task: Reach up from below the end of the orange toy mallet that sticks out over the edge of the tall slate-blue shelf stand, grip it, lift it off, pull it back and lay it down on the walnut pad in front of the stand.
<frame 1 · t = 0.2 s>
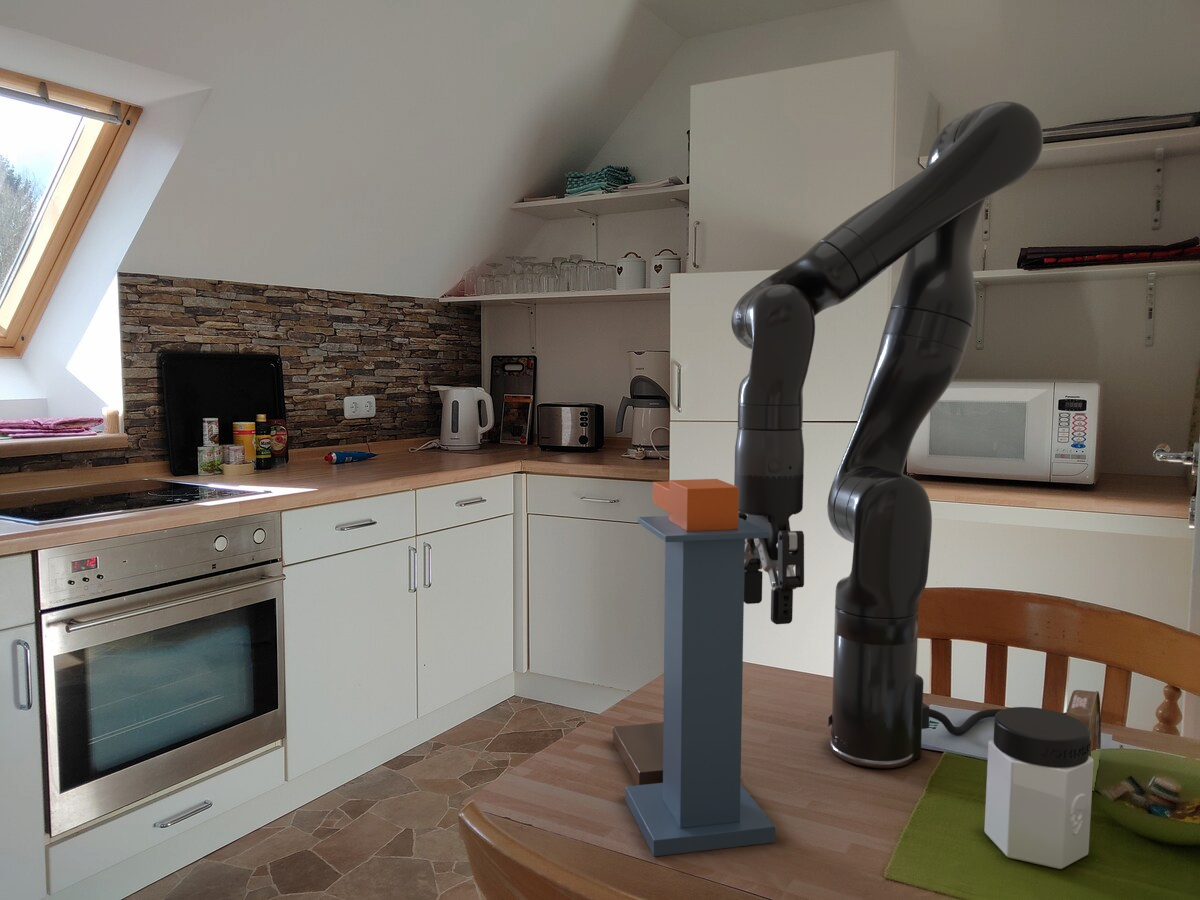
hand: (765, 612, 103), 17 cm above the table, tool pointing down, fingers open, 8 cm apart
orange toy mallet: (700, 523, 89), point 30 cm above the table, touching stand
jar: (1035, 846, 88), on the table
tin: (1081, 775, 102), on the table
stand: (697, 820, 92), on the table
pad: (663, 761, 105), on the table
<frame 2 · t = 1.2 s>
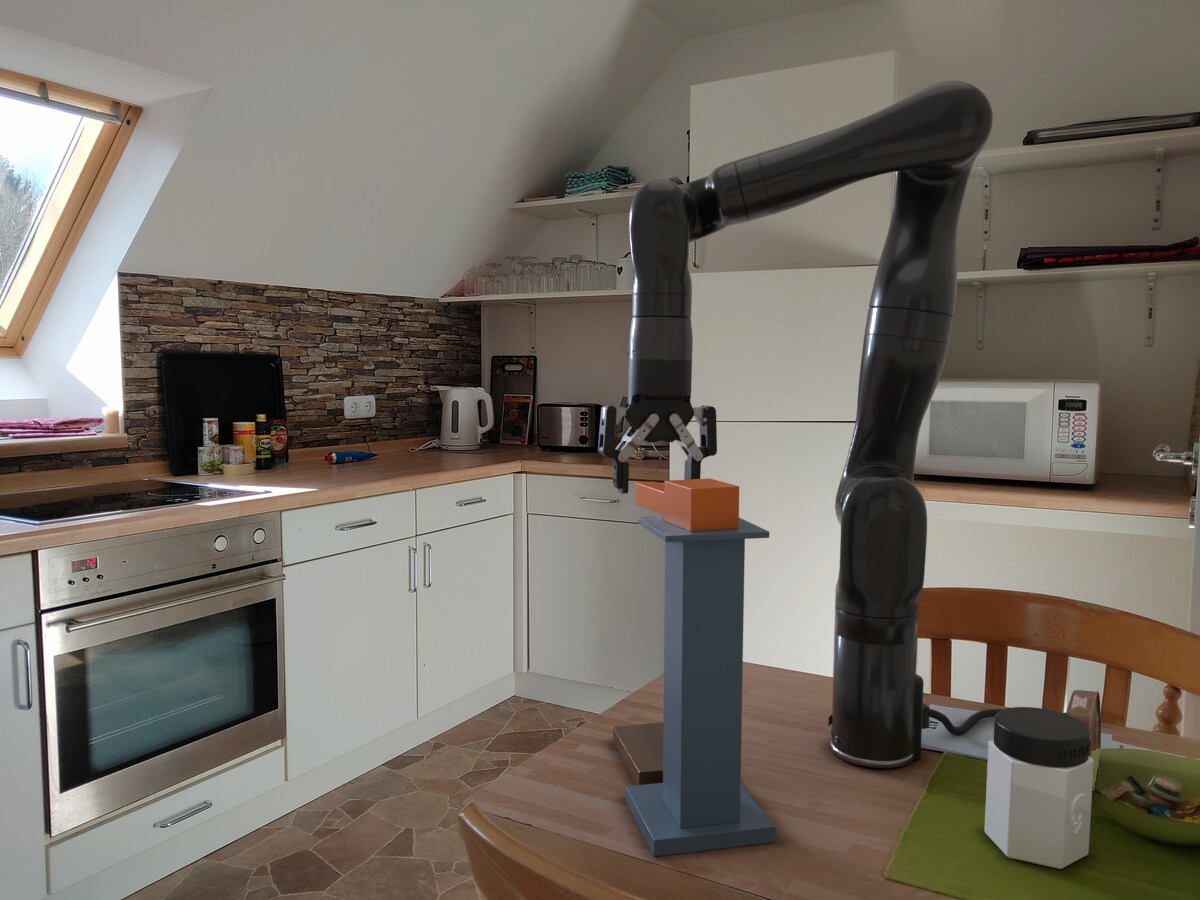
hand: (656, 492, 111), 30 cm above the table, tool pointing down, fingers open, 8 cm apart
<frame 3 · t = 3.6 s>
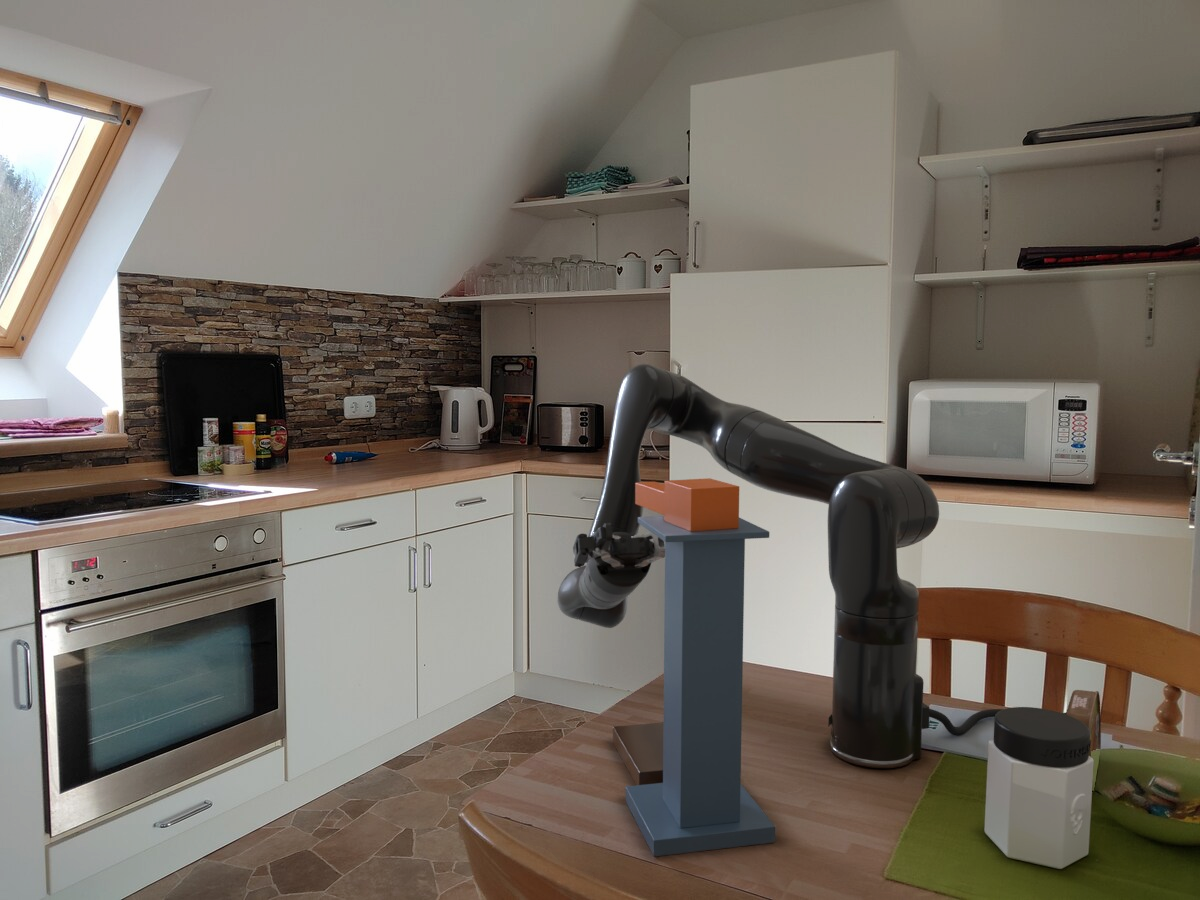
hand: (644, 529, 109), 26 cm above the table, tool pointing upward, fingers open, 8 cm apart
nothing on the table moved.
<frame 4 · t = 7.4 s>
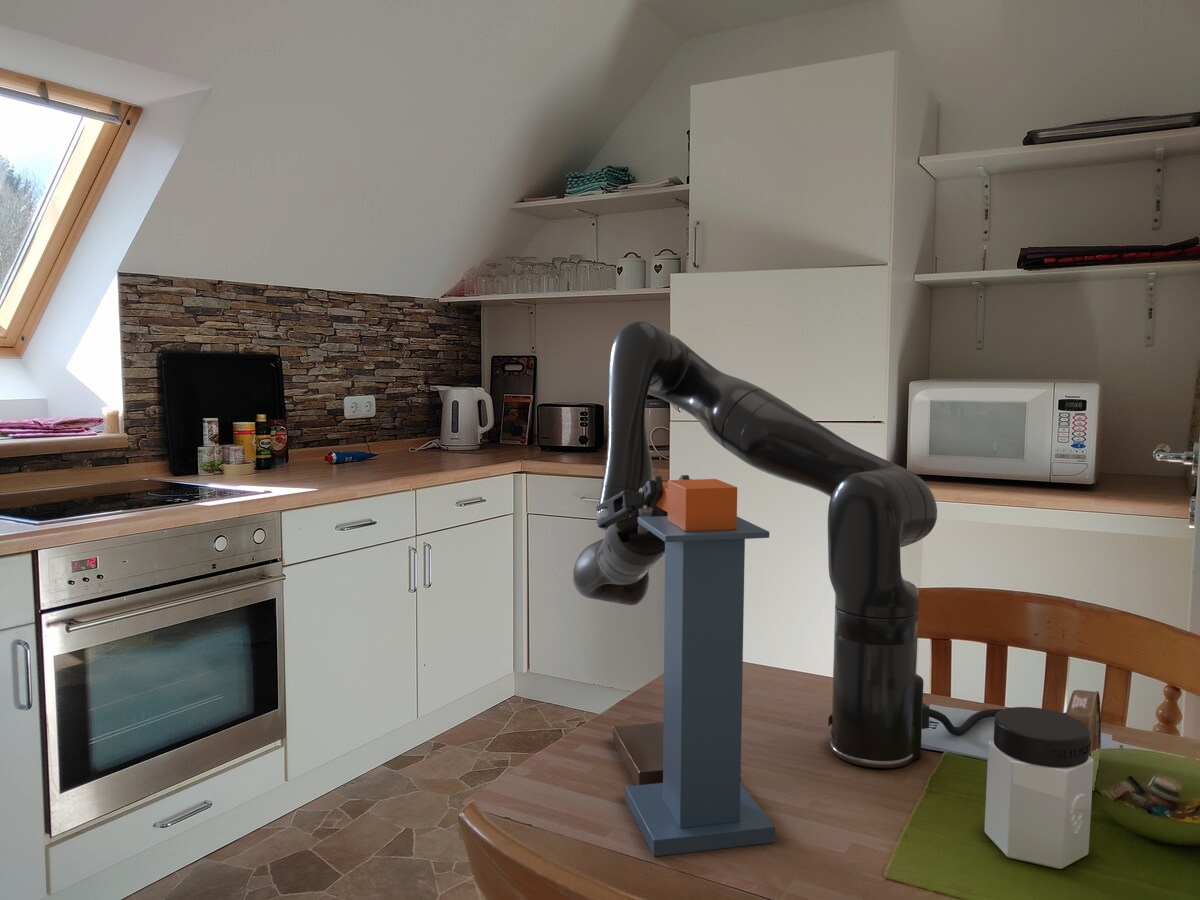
hand: (673, 483, 97), 33 cm above the table, tool pointing upward, fingers closed on orange toy mallet, 2 cm apart
orange toy mallet: (699, 523, 89), point 30 cm above the table, touching gripper, stand
everything else where it was.
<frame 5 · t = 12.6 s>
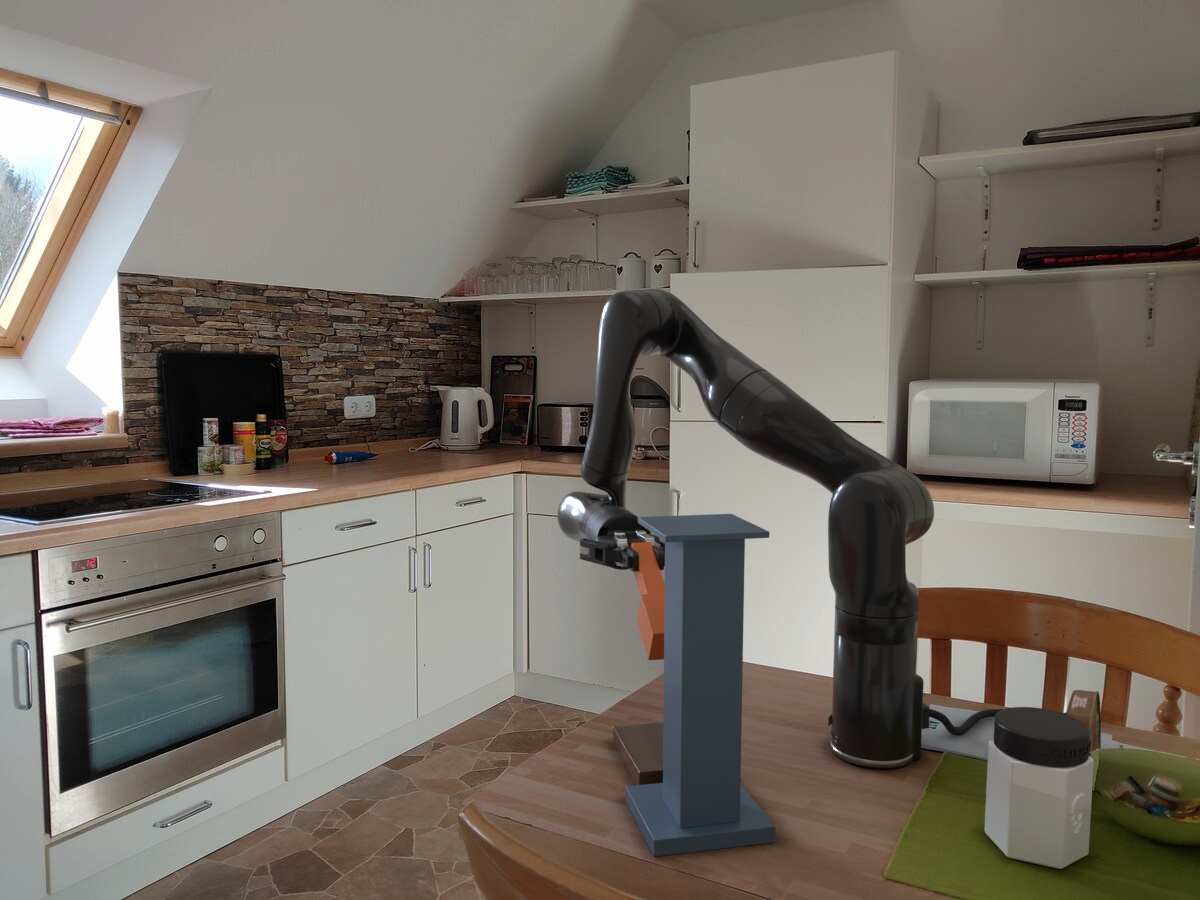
hand: (648, 562, 108), 22 cm above the table, tool horizontal, fingers closed on orange toy mallet, 2 cm apart
orange toy mallet: (663, 635, 102), point 15 cm above the table, tilted 29°, touching gripper
everything else where it was.
when the fingers open (11 cm above the table, at t = 16.1 s): orange toy mallet drops 2 cm, resting on pad.
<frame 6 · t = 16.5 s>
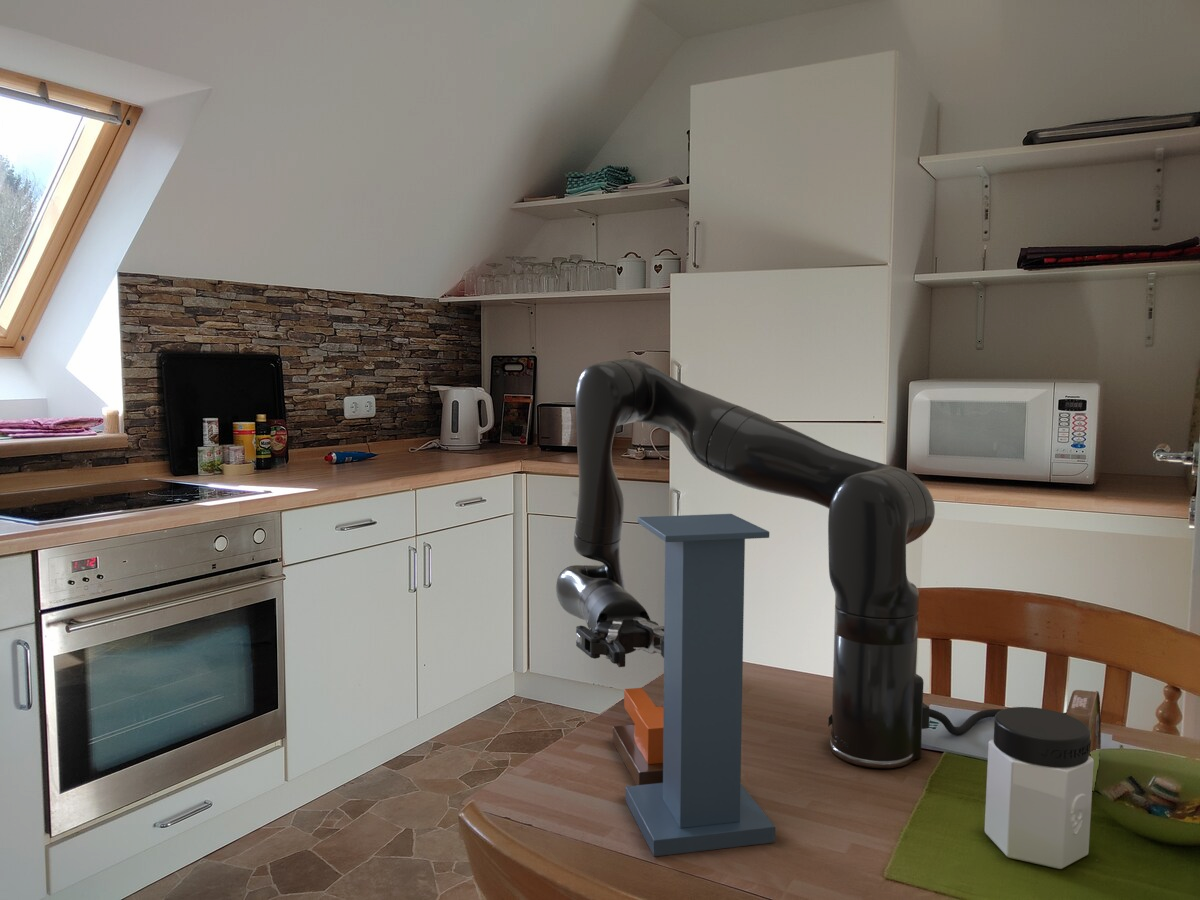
hand: (647, 657, 109), 11 cm above the table, tool horizontal, fingers open, 5 cm apart
orange toy mallet: (661, 749, 104), point 2 cm above the table, touching pad
everything else where it was.
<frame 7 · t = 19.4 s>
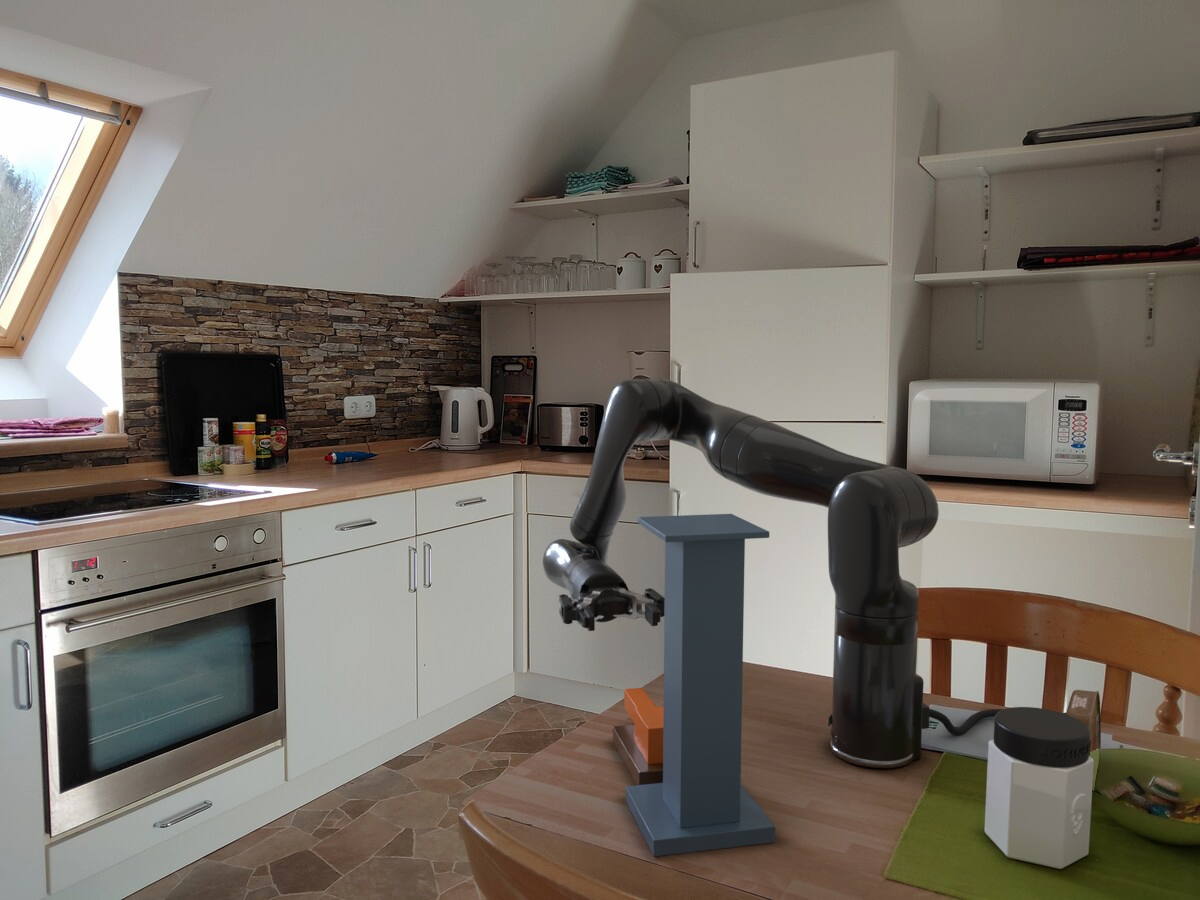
hand: (624, 621, 121), 12 cm above the table, tool horizontal, fingers open, 8 cm apart
nothing on the table moved.
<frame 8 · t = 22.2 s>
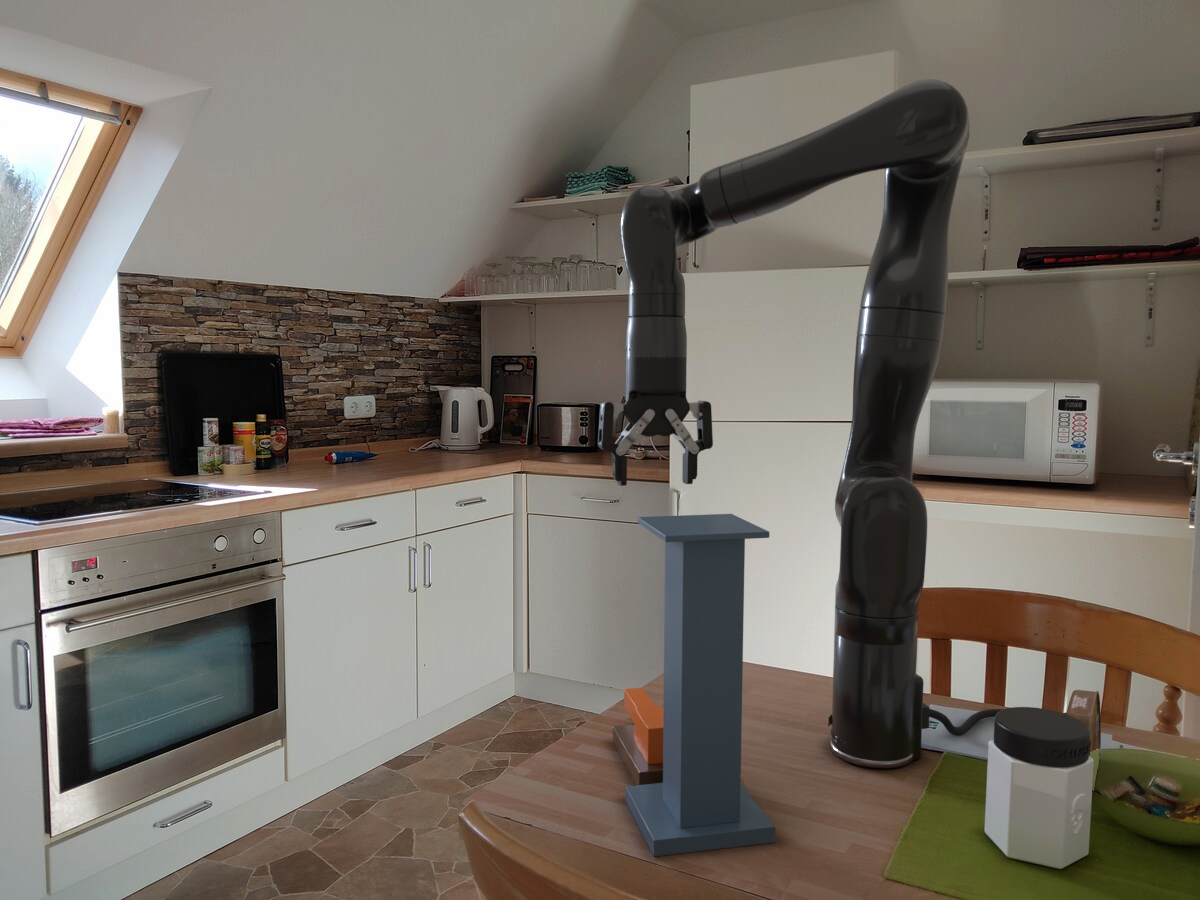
hand: (655, 484, 116), 30 cm above the table, tool pointing down, fingers open, 8 cm apart
nothing on the table moved.
at the end: orange toy mallet point 2.0 cm above the table; orange toy mallet inside the target area (1.1 cm from its centre), point 2.0 cm above the table; the gripper is holding nothing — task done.
